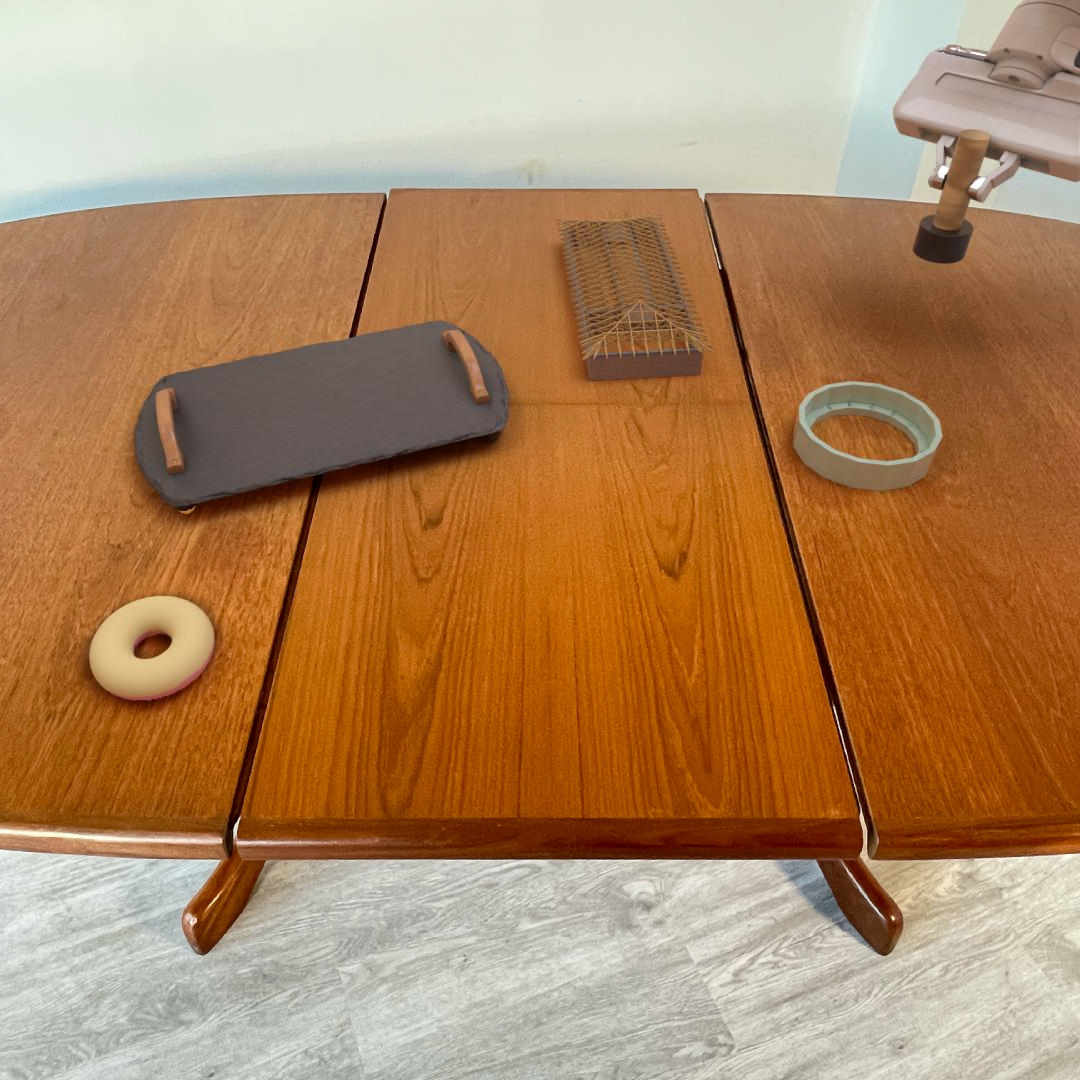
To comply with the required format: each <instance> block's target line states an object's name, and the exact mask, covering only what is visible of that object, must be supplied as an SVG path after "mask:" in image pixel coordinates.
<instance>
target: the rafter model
mask: <svg viewBox="0 0 1080 1080" xmlns="http://www.w3.org/2000/svg"><path fill="white" fill-rule="evenodd" d="M660 216H661V214H660V213H657V214H649V215H646V216H644V215H642V214H640V216H639V217H634V216H632V215H629V218H624V217H622V216H620V215H619V216H618V218H617V219H614V218H612V217H610V216H608V217H607V219H602V218H600V217H599V216H597V217H596V220H595V219H594V220H593V219H589V218H588V217H586V219H578V218H577V217H575V218H574V219H572V218H563V219H562V218H556V219H555V221H556V222H557V223H556V225H558V226H559V227H558V226H557V230H558V233H559V232H560V233H559V234H558V236H559V237H560V238H559V241H562V242H560V245H561V246H562V247H561V250H563V252H562V255H564V257H563V260H565V262H564V265H566V267H565V270H567V272H566V275H567V276H568V277H567V281H569V282H568V286H570V288H569V292H571V294H570V297H571V298H572V299H571V303H574V305H573V306H572V309H575V311H574V312H573V314H574V315H576V317H575V318H574V320H575V321H577V323H576V327H578V329H576V330H577V333H580V335H578V339H581V341H579V345H580V346H579V347H580V348H581V349H582V350H583V352H581V355H582V356H583V355H584V356H583V358H582V361H585V365H586V370H587V375H588V376H587V377H588V380H589V381H590V382H593V381H612V380H627V379H628V380H630V379H646V378H648V379H649V378H664V377H666V378H667V377H683V376H684V377H685V376H701V373H702V366H703V365H702V364H703V357H704V351H706V352H707V353H711V354H714V351H713V350H712V349H711V348H712V345H711V344H710V343H709V344H708V343H706V342H709V338H708V334H705V333H702V332H705V331H706V329H705V328H701V327H699V326H703V323H702V322H699V320H701V317H700V316H696V314H699V311H698V310H694V308H696V307H697V306H696V305H695V304H692V303H693V302H694V299H693V298H689V297H692V293H689V292H688V291H690V288H689V287H685V286H687V285H688V283H687V282H685V280H686V278H685V276H681V275H683V273H684V272H683V271H681V269H682V267H681V266H678V265H679V264H680V261H677V260H676V259H678V256H675V254H676V251H673V249H674V247H673V246H670V245H672V242H671V241H670V237H668V232H667V229H666V228H665V223H664V221H661V220H662V217H660ZM665 231H666V232H665ZM668 240H669V241H668ZM563 246H564V247H563ZM575 246H578V247H575ZM637 247H638V248H637ZM610 248H612V249H610ZM621 248H626V249H621ZM576 250H578V251H576ZM564 251H565V252H564ZM639 252H640V253H639ZM611 253H613V254H611ZM623 253H628V254H623ZM577 255H580V256H577ZM640 257H641V258H640ZM613 258H615V259H613ZM625 258H628V259H625ZM578 260H581V261H578ZM601 263H602V264H601ZM614 263H618V264H616V265H614ZM627 263H628V264H627ZM580 265H582V266H580ZM603 268H604V269H603ZM616 268H617V269H618V270H616ZM619 268H621V269H619ZM581 270H583V271H581ZM599 270H600V271H599ZM617 274H620V275H617ZM581 276H584V277H581ZM605 279H606V280H605ZM619 279H623V280H619ZM683 280H684V281H683ZM582 281H586V282H582ZM606 284H607V285H608V286H607V285H606ZM620 285H624V286H620ZM603 286H604V287H603ZM583 287H585V288H583ZM655 287H657V288H655ZM608 290H610V291H608ZM624 290H625V291H624ZM627 290H629V291H627ZM686 291H687V292H686ZM585 292H589V293H585ZM657 293H658V294H657ZM610 296H611V297H610ZM626 296H628V297H626ZM586 298H591V299H586ZM658 298H659V299H660V300H659V299H658ZM610 301H611V302H613V303H611V302H610ZM625 302H627V303H625ZM628 302H630V303H628ZM589 303H590V304H591V305H587V304H589ZM692 308H693V309H692ZM661 334H662V335H661ZM668 334H669V336H668V337H665V336H666V335H668ZM641 335H642V336H643V338H637V337H639V336H641ZM647 335H648V336H650V338H647ZM677 335H678V336H677ZM614 337H616V338H614ZM619 337H621V338H622V339H620V338H619ZM610 339H612V340H610ZM675 340H679V341H681V342H684V345H685V348H677V349H676V345H675ZM652 341H656V343H657V346H658V350H649V348H648V342H652ZM661 341H670V344H671V347H672V349H662V343H661ZM634 342H643V345H644V349H645V350H641V351H640V350H639V351H635V347H634ZM612 343H613V344H614V343H616V346H617V349H618V352H608V351H607V345H608V344H612ZM620 343H629V344H630V347H631V350H632V351H623V352H622V351H621V345H620ZM603 348H604V349H603ZM601 349H603V350H604V353H600V351H601Z"/></svg>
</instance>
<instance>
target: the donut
mask: <svg viewBox="0 0 1080 1080" xmlns="http://www.w3.org/2000/svg"><path fill="white" fill-rule="evenodd" d="M153 634H159V635H164V634H165V636H167V637H170V639H171V643H170V645H169V647H168V648H167V649H166V650H165V651H164V652H162V653H161V654H159V655H157V656H154V657H150V658H139V657H137V656H136V655H135V651H136V648H137V647H138V645H139V644H140V643H141V642H142V641H141V640H142V639H144V638H145V637H147V636H149V635H153ZM153 636H154V635H153ZM144 640H145V639H144ZM140 641H141V642H140ZM139 642H140V643H139ZM215 642H216V641H215V631H214V627H213V624H212V622H211V620H210V618H209V617H208V615H207V614H206V612H205V611H203V609H201V608H200V607H199V606H198V605H197V604H195V603H193V602H191V601H190V600H187V599H185V598H182V597H177V596H172V595H155V596H154V595H153V596H148V597H143V598H140V599H139V598H138V599H137V600H134V601H131V602H129V603H127V604H125V605H122V606H121V607H120V608H118V609H116V610H115V611H114V612H113V613H111V614H110V615H109V616H108V617H107V618H106V619H105V620H104V621H103V622H102V623H101V625H100V626H99V627H98V629H97V630H96V632H95V633H94V635H93V638H92V640H91V643H90V647H89V653H88V659H89V666H90V670H91V674H92V675H93V677H94V678H95V680H96V681H97V683H98V684H99V685H100V686H101V687H102V688H103V689H104V690H106V691H107V692H109V693H110V694H111V695H113V696H116V697H118V698H121V699H124V700H129V701H136V700H147V701H152V700H151V699H155V700H158V699H157V698H160V699H162V698H161V697H164V696H167V695H169V696H171V695H170V694H172V693H174V694H176V693H177V692H176V691H178V690H180V691H182V690H183V689H182V688H184V687H185V686H187V685H188V684H189V685H191V684H192V683H193V682H194V681H196V680H197V679H198V678H199V677H200V676H201V674H202V673H203V672H204V671H205V669H206V668H207V666H208V665H209V663H210V661H211V659H212V656H213V654H214V649H215ZM138 643H139V644H138ZM137 644H138V645H137ZM135 647H136V648H135ZM210 658H211V659H210ZM207 664H208V665H207ZM205 667H206V668H205ZM203 670H204V671H203ZM193 680H194V681H193ZM192 681H193V682H192ZM191 682H192V683H191ZM190 683H191V684H190ZM189 685H188V686H189ZM188 686H187V687H188ZM185 688H186V687H185ZM185 688H184V689H185ZM181 689H182V690H181ZM175 692H176V693H175ZM178 692H179V691H178ZM172 695H173V694H172ZM167 697H168V696H167ZM164 698H165V697H164Z"/></svg>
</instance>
